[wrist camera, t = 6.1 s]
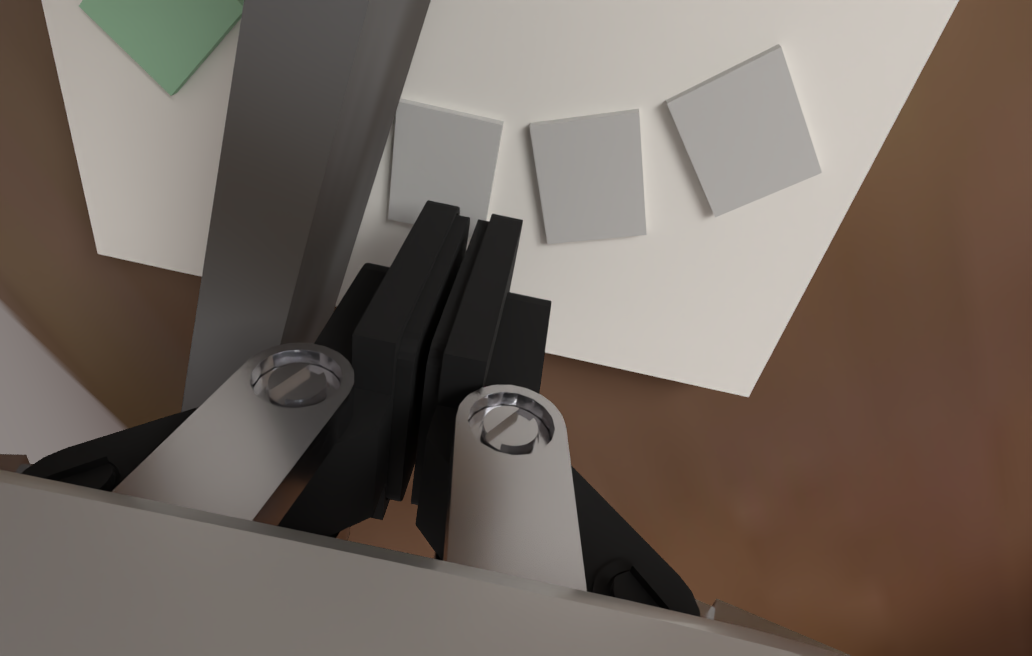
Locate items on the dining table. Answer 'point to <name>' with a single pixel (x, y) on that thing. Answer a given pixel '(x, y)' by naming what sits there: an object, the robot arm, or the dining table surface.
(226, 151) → the brown grey handled piece
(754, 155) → the dial board
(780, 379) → the dining table surface
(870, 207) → the dining table surface
